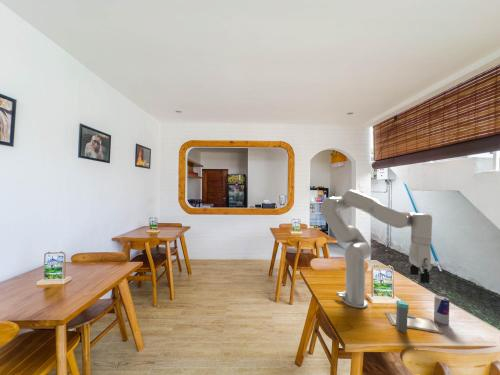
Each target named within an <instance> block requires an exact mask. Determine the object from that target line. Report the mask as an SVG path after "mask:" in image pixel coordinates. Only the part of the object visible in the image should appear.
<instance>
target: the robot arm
mask: <svg viewBox="0 0 500 375" xmlns="http://www.w3.org/2000/svg"><path fill="white" fill-rule="evenodd" d="M351 208H355V209H358V210H360V211H362V212H364V213H366V214H368V215H369V216H371V217H373V218H374V219H376V220H378V221H380V222H382V223H384V224H386V225H389V227H390V226H391V227H393V228H395V229H403V228H407V227H410V246H409V253H408V254H409V255H408V262H409V263H410V264H409V265H410V266H409V267H410V269H409V271H410V272H409V273H410V275H413V276H420V279H419V280H420V281H419V282H420V283H422V284H423V283H424V284H430V275H431V271H432V264H431V259H432V258H431V256H432V254H431V246H432V236H433V235H432V233H433V232H432V230H433V216H432V215H431V214H429V213H423V212H422V213H421V212H411V211H406V210H401V211H398V210H396V209H393V208H390V207H388V206H386V205H384V204H382V203H381V202H380V200H378V199H377V198H374V197H372V196H370V195H367V194H365V192H364V193H363V191H361V190H357V189H348V190H347V191H345V192H344V193H343V195H340V196H330V197H326V198H325V199H323V201H322V203H321V205H320V213H321V215H322V218H323V219H324V221H325V222H326V223H327V225H328V227H329V229H330V230H331V232H332V234H334V236H335V238H336V239H337V241H338V242H339V243H340V244H342V245H343V244H345V245H346V244H349V245H348V246H347V247H346V249H345V251H344V256H345V290H344V291H342V292H340V291H335V295H336V296H337V297H338V298H341V301H342V302H343V304H345V305H347V306H349V307H352V308H355V309H365V308H367V307H368V304H369V303H368V301H367V300H366V299H365V295H366V294H365V293H366V291H365V290H366V265H365V260H367V259H368V258H370V257H371V255H372V252H373V251H372V247H371V246H370V244H369V242H368V241H367V240H366V238H365V237H364V235H363V234H362V233H361V231H360V230H359V229H358V228H357V227H356V226H354V225H347V223H345V221H344V219H343V218H342V217H341V216H340V215H339V214H338V213H337V212H341V211H344V210H348V209H351ZM419 269H420V271H421V272H420V274H419Z"/></svg>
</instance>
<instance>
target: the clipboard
mask: <svg viewBox="0 0 500 375" xmlns="http://www.w3.org/2000/svg"><path fill="white" fill-rule="evenodd" d="M384 314H385V316H386V318H387V319H388V321H389V324H390V325H391V326H394V327H396V313H393V312H386V311H385V312H384ZM407 329H412V330H419V331H421V332H422V331H424V332H429V333H435V334H441V335H445V332H444V331H443V330H442V329H441V328H440V327H439V325H438V324H436V323H435V322H434V319H431V318H423V317H419V316H417V317H416V316H415V315H414V314H410V313H408V314H407Z"/></svg>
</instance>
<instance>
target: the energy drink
mask: <svg viewBox="0 0 500 375" xmlns="http://www.w3.org/2000/svg"><path fill="white" fill-rule="evenodd" d="M433 303H434V304H433V307H434V308H433V321H434V322H435V324H436V325H437V326H440V327H445V328H446V327H449V325H450V299H449V298H448V297H446V296H443V295H438V294H437V295H435V296H434V302H433Z"/></svg>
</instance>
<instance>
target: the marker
mask: <svg viewBox="0 0 500 375" xmlns="http://www.w3.org/2000/svg"><path fill="white" fill-rule="evenodd" d="M395 314H396V326H395V328H396V329H397V331H398V332H399V333H401V332H402V333H405V334H407V333H408V328H407V314H409V304H408V302H406V300H398V299H396V312H395Z"/></svg>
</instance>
